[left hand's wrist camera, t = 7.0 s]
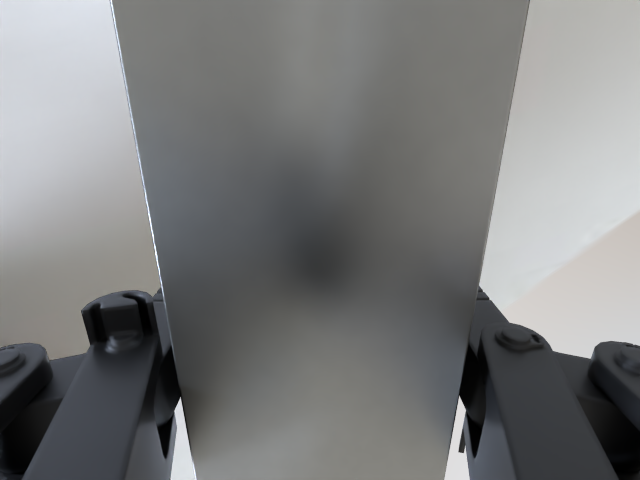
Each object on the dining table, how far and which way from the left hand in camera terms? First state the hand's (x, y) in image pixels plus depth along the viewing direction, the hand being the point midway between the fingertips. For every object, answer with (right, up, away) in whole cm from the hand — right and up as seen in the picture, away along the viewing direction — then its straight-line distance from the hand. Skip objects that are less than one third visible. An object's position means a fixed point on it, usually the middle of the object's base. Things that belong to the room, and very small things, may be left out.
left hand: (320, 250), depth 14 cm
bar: (0, +9, -3) cm, 10 cm away
